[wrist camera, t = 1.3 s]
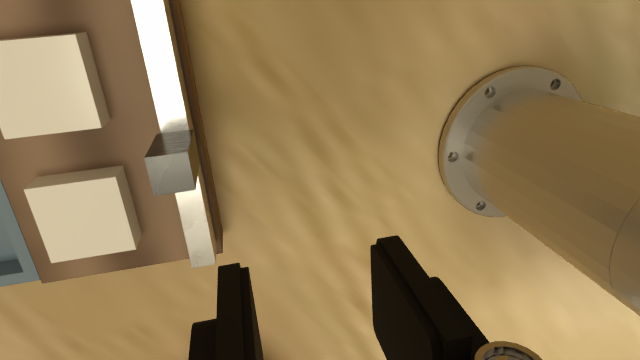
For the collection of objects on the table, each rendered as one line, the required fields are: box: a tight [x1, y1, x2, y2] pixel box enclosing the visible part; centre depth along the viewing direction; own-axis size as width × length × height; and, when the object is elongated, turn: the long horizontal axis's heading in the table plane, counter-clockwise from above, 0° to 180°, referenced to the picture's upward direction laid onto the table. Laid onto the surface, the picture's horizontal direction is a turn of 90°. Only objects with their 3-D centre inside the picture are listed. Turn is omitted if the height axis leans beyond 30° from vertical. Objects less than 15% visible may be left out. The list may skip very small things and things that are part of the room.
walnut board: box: [0, 0, 223, 283], centre depth 28 cm, size 12×18×3 cm, turn 3°
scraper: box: [131, 0, 217, 268], centre depth 24 cm, size 2×16×7 cm, turn 3°
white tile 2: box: [24, 165, 142, 263], centre depth 27 cm, size 5×5×2 cm
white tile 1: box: [0, 32, 110, 139], centre depth 24 cm, size 5×5×2 cm
